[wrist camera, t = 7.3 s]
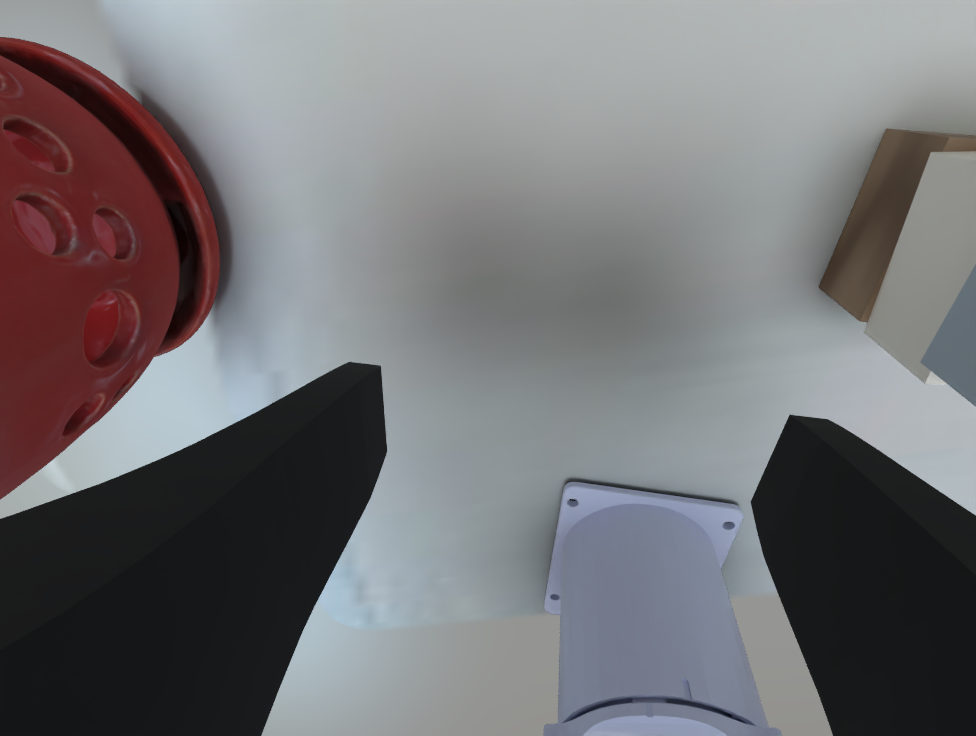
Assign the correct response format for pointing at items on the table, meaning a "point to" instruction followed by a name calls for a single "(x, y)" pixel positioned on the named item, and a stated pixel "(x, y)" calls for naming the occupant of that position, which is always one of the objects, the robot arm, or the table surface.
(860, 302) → the walnut block
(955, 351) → the slate block
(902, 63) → the table surface
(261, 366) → the table surface
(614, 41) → the table surface
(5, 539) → the robot arm
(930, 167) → the cream block
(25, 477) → the plant pot
